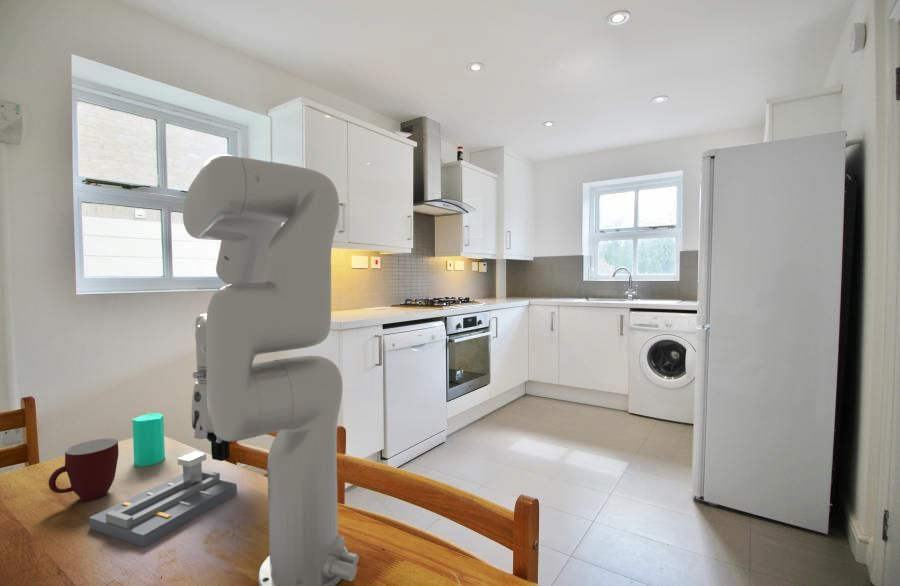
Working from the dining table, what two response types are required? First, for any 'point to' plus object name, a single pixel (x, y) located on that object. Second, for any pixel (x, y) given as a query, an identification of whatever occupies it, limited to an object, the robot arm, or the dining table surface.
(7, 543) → the dining table surface
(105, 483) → the mug
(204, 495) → the console
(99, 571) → the dining table surface
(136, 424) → the candle
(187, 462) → the fader tab
